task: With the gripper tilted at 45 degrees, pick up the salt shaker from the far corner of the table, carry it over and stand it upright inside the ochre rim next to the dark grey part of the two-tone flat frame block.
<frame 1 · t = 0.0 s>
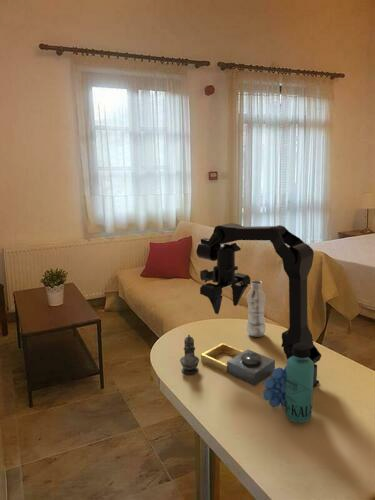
hand: (226, 309, 127), 15 cm above the table, tool pointing down, fingers open, 9 cm apart
plastic bottle: (255, 335, 141), on the table
beverage bottle: (297, 420, 96), on the table
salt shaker: (190, 371, 119), on the table
two-tone flat frame block: (224, 360, 124), on the table
grapes: (283, 404, 102), on the table
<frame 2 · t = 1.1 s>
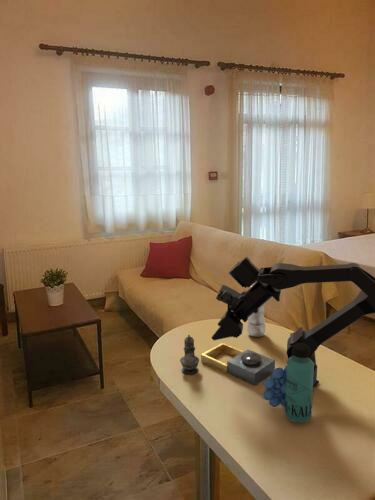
hand: (215, 331, 114), 13 cm above the table, tool tilted 45°, fingers open, 9 cm apart
nothing on the table moved.
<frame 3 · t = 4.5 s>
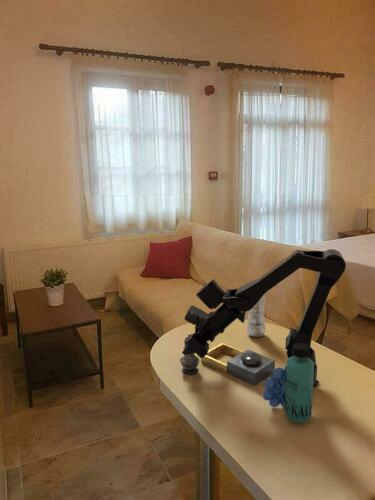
hand: (184, 350, 118), 7 cm above the table, tool tilted 45°, fingers closed on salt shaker, 4 cm apart
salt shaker: (190, 371, 119), on the table, touching gripper
everything else where it was.
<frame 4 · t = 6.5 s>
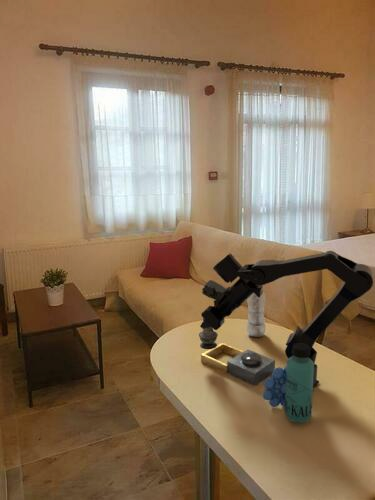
hand: (203, 324, 120), 13 cm above the table, tool tilted 45°, fingers closed on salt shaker, 4 cm apart
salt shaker: (208, 345, 121), point 6 cm above the table, touching gripper
everything else where it was.
when the fingers open (8 cm above the table, at t = 8.6 s): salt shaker drops 1 cm, resting in two-tone flat frame block.
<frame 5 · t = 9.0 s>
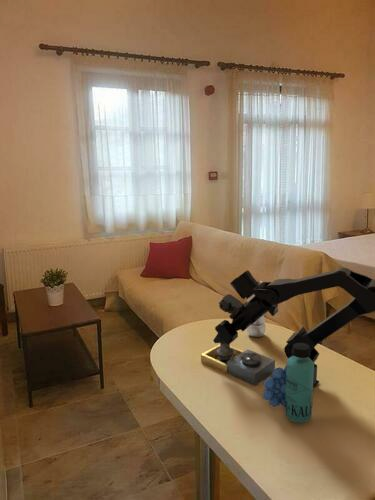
hand: (220, 336, 123), 8 cm above the table, tool tilted 45°, fingers open, 8 cm apart
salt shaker: (225, 361, 124), resting in two-tone flat frame block
everything else where it was.
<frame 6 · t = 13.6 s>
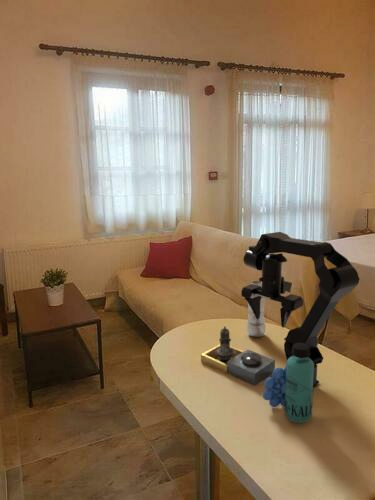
hand: (270, 322, 120), 13 cm above the table, tool pointing down, fingers open, 9 cm apart
nothing on the table moved.
at the end: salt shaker 0.2 cm off-centre on the two-tone flat frame block, point 0.0 cm above the two-tone flat frame block's base; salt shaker tilted 0°; the gripper is holding nothing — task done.
